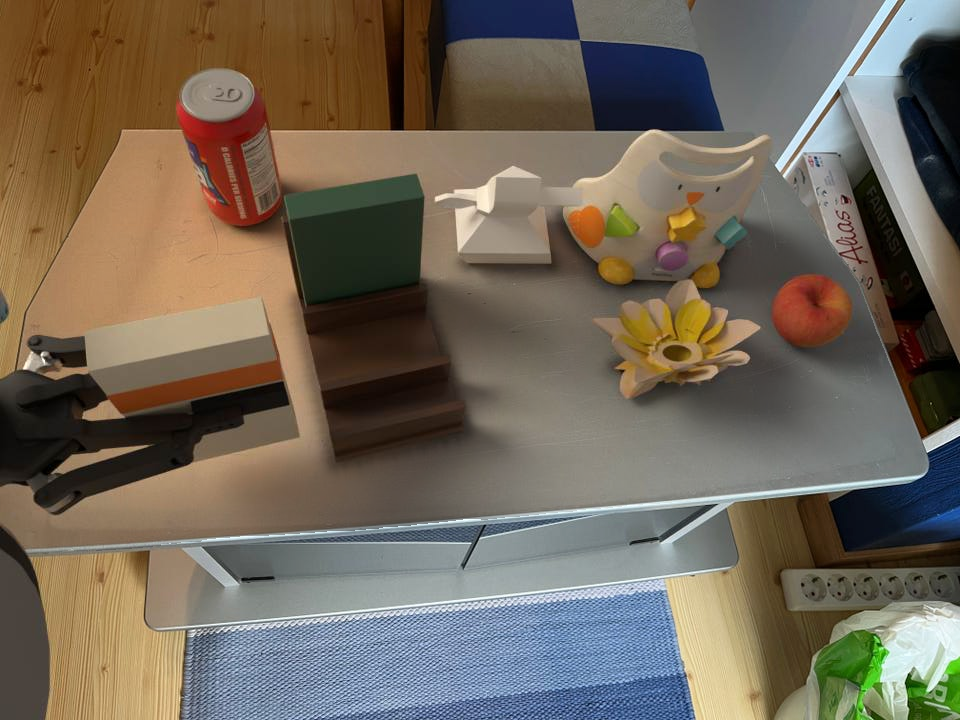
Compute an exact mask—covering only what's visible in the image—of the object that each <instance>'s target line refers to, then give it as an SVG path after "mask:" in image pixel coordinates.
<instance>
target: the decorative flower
mask: <svg viewBox="0 0 960 720" xmlns="http://www.w3.org/2000/svg"><path fill="white" fill-rule="evenodd" d="M728 314H729V310H728V309H726V308H722V307H718V306H716V307H712V308H711V303H709V302H708V301H706V300H705V299H703V298H701V295H700V293H699V291H698V287H696V286H695V284H694V282H693V280H689V279H687V280H681V281H676V283H675V284H673V285H672V287H671V288H670V289H669V291H668V293H667V294H666V296H665V300H664V301H663V300H662V299H661V298H650V299H648V300H646V301H644V302H643V303H642V304H641V303H639V302H636V301H634V300H630V299H629V300H627V301H625V302H623V303H621V305H620V307H619V309H618V317H594V318H593V317H592V318H591V319H590V320H591V322H592V323H593V324H594V325H596V326H597V327H598V328H599V329H601V330H602V331H603V332H604V333H606V334H607V335H609V336H611V337H612V338H611V341H610V343H611V345H612V347H613V348H614V350H615V352H617V354H618V355H619V356H620V357H622V359H624V360H625V361H622V362H621V363H620V364H619V365H617V366H615V367H614V369H615V370H623V371H624V372H623V373H622V374H621V378H620V381H619V391H620V392H621V394H622V395H623V397H624V398H625V399H627V400H630V399H632V398H635V397H637V396H640V395H642V394H644V393H646V392H649V391H650V390H651V391H652V390H653V388H655V387H656V386H657V384H658V383H659V382H663V381H664V384H667V383H678V385H679V386H680V387H682V386H683V385H684V384H686V382H687V383H694V384H696V385H698V386H701V383H702V382H703V381H707V382H712V380H711V379H712V378H713V377H715V376H716V375H717V374H718V373H720V372H721V373H722V372H723V371H725V370H726V369H727V368H728V366H735V367H737V366H742V365H746V364H748V362H749V361H750V360H751V357H750V355H749V354H748V353H747V352H744V351H742V350H730V349H731V348H733V347H735V346H736V345H738V344H739V343H741V342H743V341H745V340H746V339H747V338H749V337H751V336H752V335H754V334H755V333H757V332H758V331H759V330H760V329H761V326H760V325H759V324H757V323H755V322H753V321H751V320H749V319H741V318H738V319H732V320H728V321H726V319H727V317H728Z"/></svg>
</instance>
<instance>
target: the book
mask: <svg viewBox="0 0 960 720" xmlns="http://www.w3.org/2000/svg"><path fill="white" fill-rule="evenodd" d="M271 324H272V323H271V322H270V320H269V316H268V313H267V310H266V306H265V303H264V300H263V297H262V296H258V297H253V298H248V299H247V298H246V299H242V300H238V301H231V302H226V303H221V304H216V305H210V306H205V307H199V308H196V309H195V308H194V309H189V310H184V311H180V312H174V313H170V314H165V315H158V316H153V317H148V318H144V319H138V320H132V321H127V322H122V323H117V324H112V325H106V326H102V327H101V326H100V327H96V328H90V329H86V330H84V331H83V333H84V336H85V346H86V358H87V367H86V369H87V373H89V374H90V375H91V376H92V378H93V379H94V380H95V381H96V382H97V384H98V385H99V386H100V387H101V389H102V390H103V391H104V392H105V394H106V396H107V398H108V399H109V400H108V401H110V403H111V404H112V405H113V406H114V408H115V409H116V410H117V411H118V413H119V414H120V415H122V416H123V418H129V417H140V416H151V415H163V414H174V413H188V414H194V413H193V411H192V408H191V401H194V400H198V399H203V398H208V397H212V396H217V395H221V394H226V393H231V392H235V391H240V390H244V389H249V388H254V387H258V386H263V385H267V384H272V383H277V382H281V381H284V385H285V388H286V391H287V395H288V399H289V404H290V405H288V406H284V407H279V408H275V409H270V410H266V411H262V412H257V413H253V414H248V415H244V416H243V417H244V423H245V424H243V425H241V426H240V427H238V428H234V429H229V430H224V431H221V432H216V433H212V434H208V435H204V436H202V440H201V441H200V442H199V443H198V444H195V447H194V451H193V455H194V460H193V462H192V463H196V462H201V461H206V460H209V459H214V458H218V457H222V456H227V455H231V454H234V453H239V452H243V451H248V450H253V449H256V448H257V449H258V448H260V447H266V446H269V445H273V444H277V443H283V442H286V441H290V440H294V439H298V438H301V435H300V430H299V424H298V420H297V415H296V412H295V407H294V403H293V400H292V396H291V392H290V389H289V386H288V382H287V380H286V375H285V372H284V369H283V365H282V361H281V357H280V358H279V356H280V353H279V354H278V352H279V349H278V350H277V348H278V345H277V342H276V338H275V335H274V332H273V328H272V325H271ZM154 445H155V444H154ZM148 446H152V445H147V447H148ZM192 463H191V464H192Z"/></svg>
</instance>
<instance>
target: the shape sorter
mask: <svg viewBox="0 0 960 720" xmlns="http://www.w3.org/2000/svg"><path fill="white" fill-rule="evenodd" d="M773 145H774V139H773V138H772V137H770V136H769V135H767V134H763V135H760V136H759V137H756V138H755V139H753V140H751V141H749V142H748V143H746V144H743V145H739V146H735V147H734V146H733V147H724V148H723V147H722V148H720V147H704V146H700V145H699V146H698V145H694V144H691V143H689V142H685V141H683V140H681V139H679V138H677V137H676V136H675V135H672V134H670V133H668V132H666V131H663V130H660V129H649V130H647V131H645V132H644V133H642V134H641V135H640V136H639V137H637V138H636V139H635V140H634V141H633V142H632V143H631V144H630V146H629V147H628V148H627V150H626V151H625V152H624V153H623V155H622V157H621V160H619V162H618V163H617V165H615V167H614V168H612V169H611V170H610V171H609V172H607V173H605V174H603V175H601V176H598V177H597V176H596V177H583V178H580V179H578V180H576V182H575V183H574V184H573V185H572V187H571V188H583V202H582V206H573V207H570V206H563V209H562V216H563V220H564V222H565V225H566V227H567V229H568V231H569V232H570V234H571V236H572V238H573V239H574V241H575V242H576V243H577V244H578V246H579V247H580V248H581V249H582V251H584V253H585V254H587V255H588V257H589V258H591V259H592V260H593V261H594V262H596V263H597V264H598V266H597V271H598V272H599V275H600V276H601V278H602V279H603V280H605V281H607V282H608V283H611V284H613V285H620V286H621V285H625V284H630V283H631V282H632V281H633V280H638V281H639V280H640V281H663V282H664V281H665V282H678V281H681V280H687V279H689V280H693V282H694V284H695V286H696V288H699V289H710V288H712V287H714V286H716V285H717V284H718V283H719V281H720V276H721V273H720V269H719V266H718V263H719V262H720V261H721V259H722V257H723V256H724V254H725V252H726V251H727V250H730V249H731V248H732V247H734V246H735V245H736V244H737V243H738V242H739V241H740V240H742V239H743V238H745V236H746V235H747V234H748V232H747V230H746V229H745V228H744V227H743V226H742V224H741V221H742V219H743V217H744V215H745V214H746V211H747V209H748V207H749V205H750V204H751V201H752V199H753V197H754V195H755V193H756V191H757V189H758V187H759V184H760V182H761V180H762V176H763V174H764V171H765V169H766V167H767V164H768V161H769V159H770V156H771V152H772V150H773ZM665 153H669V154H671V155H673V156H674V157H676V158H678V159H681V160H683V161H685V162H689V163H693V164H697V165H698V164H699V165H704V166H705V165H706V166H723V165H733V164H737V163H740V162H743V161H746V160H747V161H746V162H745V163H743V164H742V165H741V166H739V167H738V168H735V169H734V170H733V171H729V172H726V173H723V174H716V175H707V176H706V175H705V176H704V175H703V176H701V175H693V174H688V173H684V172H682V171H679V170H677V169H675V168H673V167H672V166H670V165H669V164H668V163H667V162H666V161H665V160H664V159H663V158H662V157H661V156H662V155H663V154H665Z"/></svg>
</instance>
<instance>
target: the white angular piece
mask: <svg viewBox="0 0 960 720" xmlns="http://www.w3.org/2000/svg"><path fill="white" fill-rule="evenodd" d="M541 185H542V177H540V176H539V175H536V174H533V173H531V172H529V171H526V170H524V169H522V168H519V167H517V166H515V165H512V166H510V167H508V168H507V169H504V170H503V171H501V172H499V173H497V174H495V175H494V176H492V177H490V178H489V179H488V181H487V183H486V184H485V185H482V186H479V187H476V188H466V189H465V188H463V189H462V188H461V189H453V193H448V192H447V193H443V194H439V195H437V196H435V197H434V203H435V204H436V205H438V206H439V207H440V208H441V209H447V210H448V209H450V210H451V209H452V210H453V209H454V213H455V214H454V215H455V227H456V228H455V229H456V243H457V244H456V245H457V254H458V255H459V256H460V257H461V258H462V259H463V260H464V261H465V262H466V264H537V265H538V264H541V265H543V264H544V265H546V264H548V265H549V264H550V265H551V264H552V254H551V247H550V239H549V233H548V232H549V231H548V224H547V217H546V216H547V215H546V210H545V207H564V206H570V207H573V206H582V202H583V188H572V187H565V186H564V187H559V186H541Z"/></svg>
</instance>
